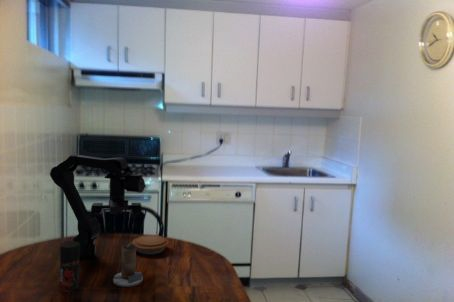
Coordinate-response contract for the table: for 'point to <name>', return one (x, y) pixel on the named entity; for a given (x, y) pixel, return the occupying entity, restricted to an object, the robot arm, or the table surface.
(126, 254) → the brown cylinder
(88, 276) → the table surface
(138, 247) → the pie
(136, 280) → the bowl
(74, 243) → the deodorant
